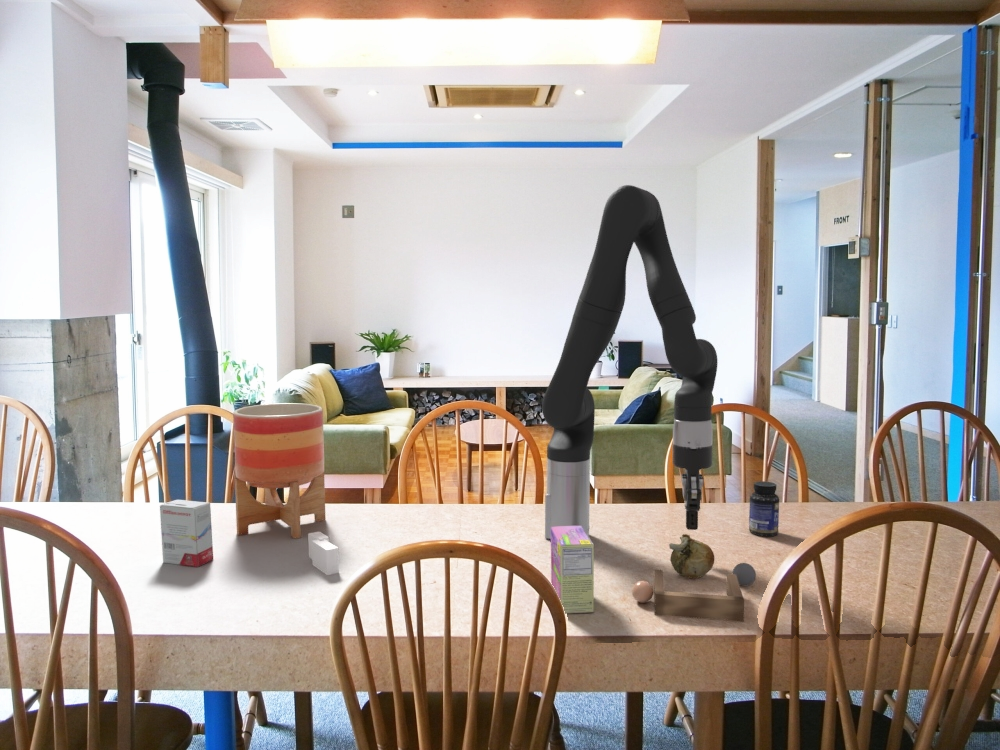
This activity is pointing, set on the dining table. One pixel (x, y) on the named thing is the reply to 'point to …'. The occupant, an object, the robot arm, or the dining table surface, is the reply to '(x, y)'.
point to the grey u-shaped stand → (699, 601)
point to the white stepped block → (323, 553)
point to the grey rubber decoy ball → (744, 574)
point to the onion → (691, 557)
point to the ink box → (186, 532)
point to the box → (573, 568)
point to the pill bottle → (764, 509)
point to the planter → (279, 463)
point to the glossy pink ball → (642, 591)
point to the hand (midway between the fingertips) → (691, 528)
